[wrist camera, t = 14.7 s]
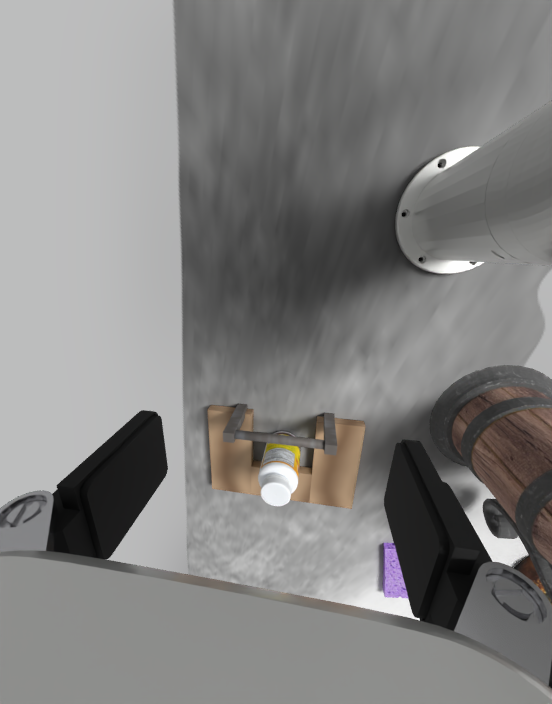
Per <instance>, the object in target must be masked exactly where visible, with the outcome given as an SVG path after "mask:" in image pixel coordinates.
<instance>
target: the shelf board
mask: <svg viewBox="0 0 552 704" xmlns="http://www.w3.org/2000/svg"><path fill="white" fill-rule="evenodd" d="M207 411H208V427H209V443H210V459H211V476H212V489H218V490H225V491H232V492H239V493H246V494H253V495H260V496H261V486H260V484H259V481H258V475H259V471H260V467H261V463H262V461H255V460H253V441H257V442H265V443H273V444H282V445H290V446H298V447H306V448H314V453H313V464H312V468H309V467H301V466H299V476H298V485H297V488H296V490H295V491H294V492H293V493H292V494H291V498H290V500H294V501H301V502H308V503H315V504H322V505H329V506H336V507H342V508H349V509H352V504H353V498H354V492H355V486H356V480H357V474H358V469H359V463H360V457H361V451H362V445H363V439H364V433H365V423H364V421H358V420H348V419H339V418H334V414H332V413H324V417H320V416H317V422H316V433H315V439H312V438H303V437H294V436H286V435H277V434H269V433H260V432H253V409H247V405H245V404H238V405H237V407H236V408H235V407H225V406H216V405H211V406H210V407H209V408H208V410H207Z"/></svg>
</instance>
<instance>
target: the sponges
mask: <svg viewBox="0 0 552 704" xmlns="http://www.w3.org/2000/svg"><path fill="white" fill-rule="evenodd" d="M383 563H384V564H383V591H384V595H385V597H393V598H394V597H396V598H398V597H399V596H401V597H402V598H408V594H407V591H406V587H405V583H404V579H403V575H402V571H401V568H400V564H399V560H398V556H397V552H396V549H395V545H394V543H384V562H383Z"/></svg>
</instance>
